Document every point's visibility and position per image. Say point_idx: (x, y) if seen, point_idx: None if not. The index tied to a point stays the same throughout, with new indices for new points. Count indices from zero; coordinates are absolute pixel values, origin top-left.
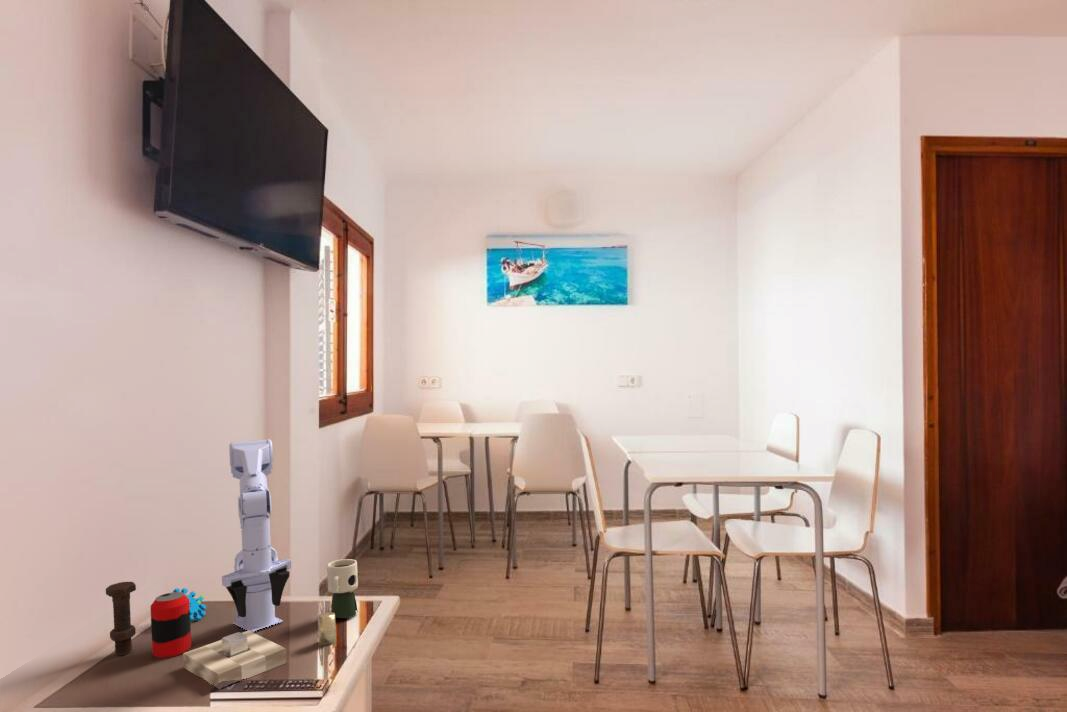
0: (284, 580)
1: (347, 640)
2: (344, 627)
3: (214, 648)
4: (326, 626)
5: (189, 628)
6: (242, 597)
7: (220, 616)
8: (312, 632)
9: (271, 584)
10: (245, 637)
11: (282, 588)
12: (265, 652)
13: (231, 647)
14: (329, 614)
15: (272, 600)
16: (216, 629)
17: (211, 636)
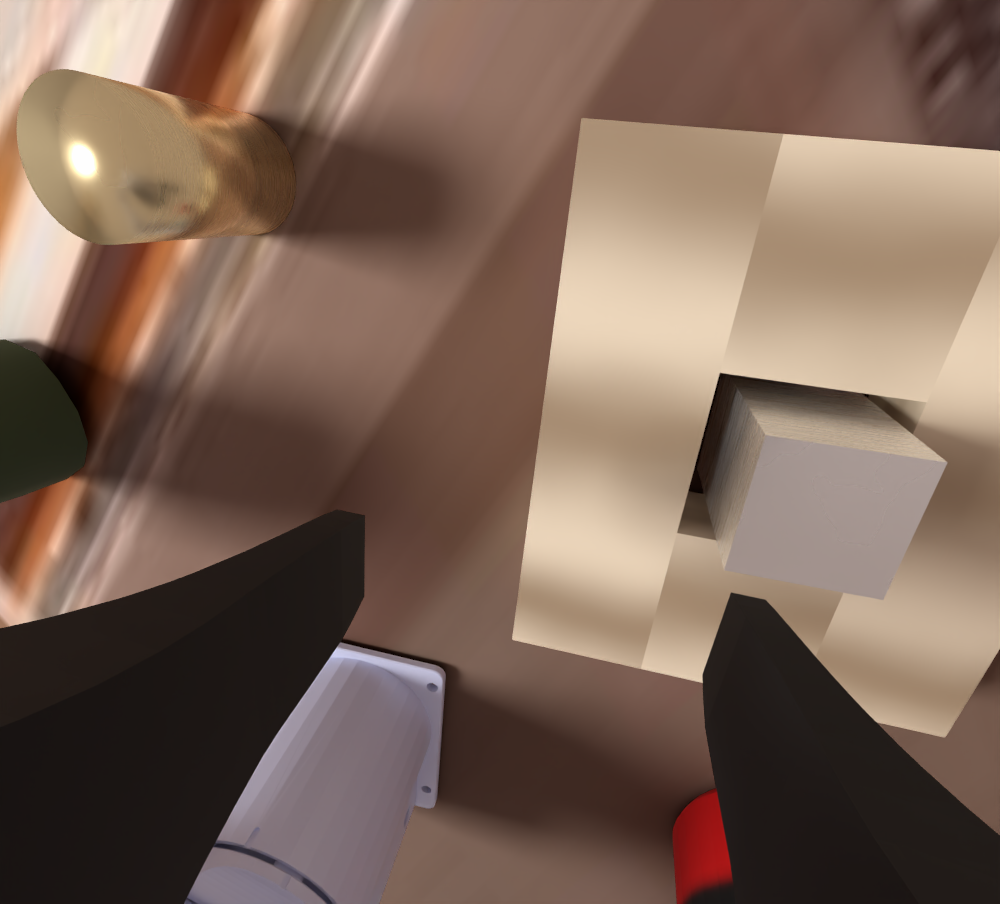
0: (19, 651)
1: (146, 63)
2: (88, 277)
3: (811, 623)
4: (173, 103)
5: (722, 901)
6: (929, 821)
7: (416, 884)
8: (242, 396)
9: (231, 795)
10: (781, 433)
11: (175, 589)
12: (721, 211)
13: (910, 438)
14: (60, 150)
15: (345, 622)
16: (503, 823)
17: (562, 795)
